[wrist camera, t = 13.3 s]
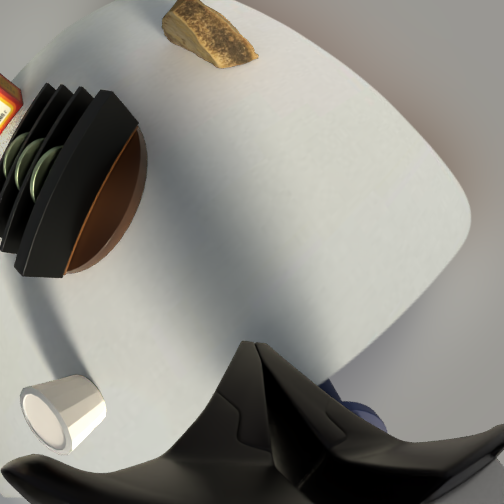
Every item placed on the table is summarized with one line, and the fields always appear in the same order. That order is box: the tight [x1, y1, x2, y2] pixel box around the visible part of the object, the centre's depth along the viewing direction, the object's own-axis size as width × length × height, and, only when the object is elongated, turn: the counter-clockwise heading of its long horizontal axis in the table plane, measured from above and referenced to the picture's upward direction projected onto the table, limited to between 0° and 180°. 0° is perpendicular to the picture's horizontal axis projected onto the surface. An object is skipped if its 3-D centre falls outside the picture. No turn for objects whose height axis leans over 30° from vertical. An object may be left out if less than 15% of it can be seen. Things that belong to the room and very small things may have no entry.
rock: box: [162, 0, 258, 68], centre depth 20 cm, size 11×9×10 cm
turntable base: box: [66, 127, 147, 274], centre depth 22 cm, size 18×18×2 cm
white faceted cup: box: [20, 375, 106, 455], centre depth 17 cm, size 7×7×7 cm
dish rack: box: [0, 83, 139, 278], centre depth 18 cm, size 12×15×7 cm
